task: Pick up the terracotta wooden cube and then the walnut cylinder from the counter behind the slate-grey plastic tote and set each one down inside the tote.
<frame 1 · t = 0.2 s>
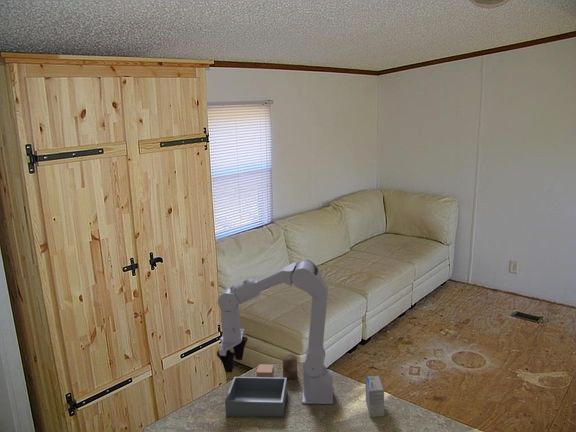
hand: (234, 365, 147), 10 cm above the countertop, fingers open, 7 cm apart
slate tote: (257, 403, 143), on the countertop
terracotta cube: (265, 381, 155), on the countertop
walnut cylinder: (290, 376, 157), on the countertop
medicine box: (374, 409, 138), on the countertop
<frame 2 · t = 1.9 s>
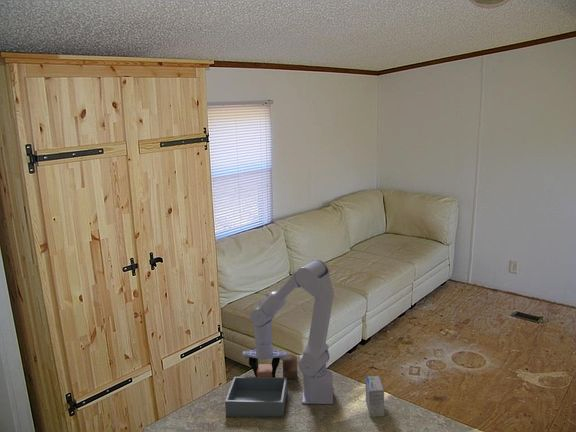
hand: (265, 377, 154), 1 cm above the countertop, fingers closed on terracotta cube, 5 cm apart
terracotta cube: (265, 381, 155), on the countertop, touching gripper
everything else where it was.
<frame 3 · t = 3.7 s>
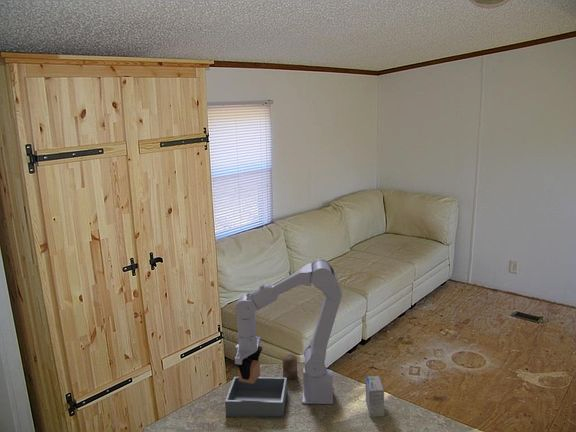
hand: (249, 374, 144), 8 cm above the countertop, fingers closed on terracotta cube, 5 cm apart
terracotta cube: (249, 378, 144), point 7 cm above the countertop, touching gripper
everything else where it was.
when the fingers open (4 cm above the countertop, at t = 5.4 s): terracotta cube drops 1 cm, resting on slate tote.
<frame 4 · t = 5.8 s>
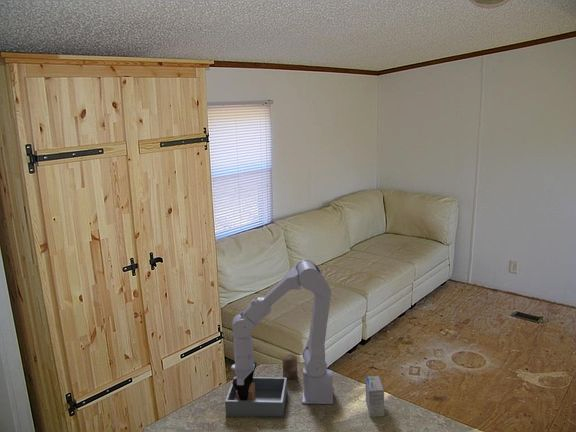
hand: (246, 393, 142), 4 cm above the countertop, fingers open, 7 cm apart
terracotta cube: (246, 401, 143), point 1 cm above the countertop, touching slate tote
everything else where it was.
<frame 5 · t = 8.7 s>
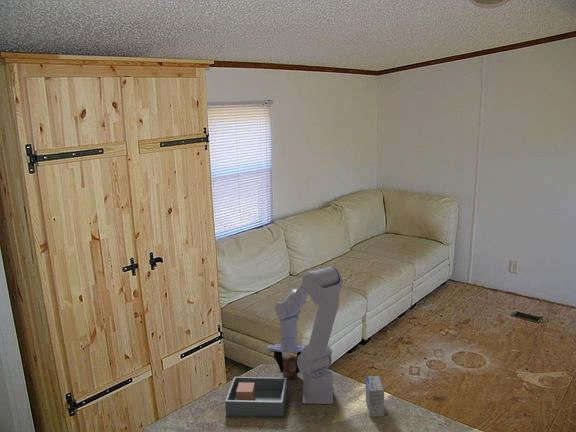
hand: (290, 371, 157), 2 cm above the countertop, fingers closed on walnut cylinder, 5 cm apart
walnut cylinder: (290, 376, 157), on the countertop, touching gripper
everything else where it was.
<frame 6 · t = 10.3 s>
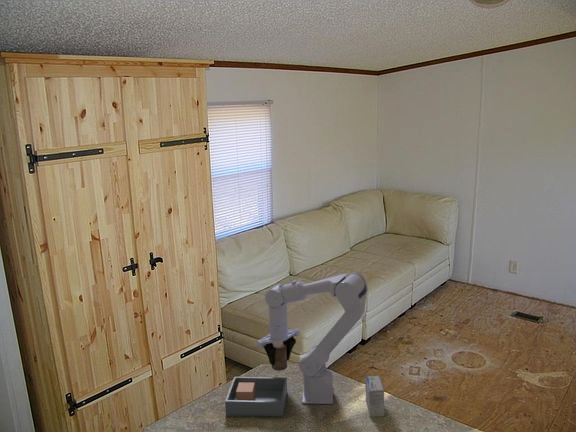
hand: (279, 361, 149), 9 cm above the countertop, fingers closed on walnut cylinder, 5 cm apart
walnut cylinder: (279, 366, 150), point 7 cm above the countertop, touching gripper
everything else where it was.
when the fingers open (4 cm above the countertop, at t = 12.4 s): walnut cylinder stays where it is, resting on slate tote.
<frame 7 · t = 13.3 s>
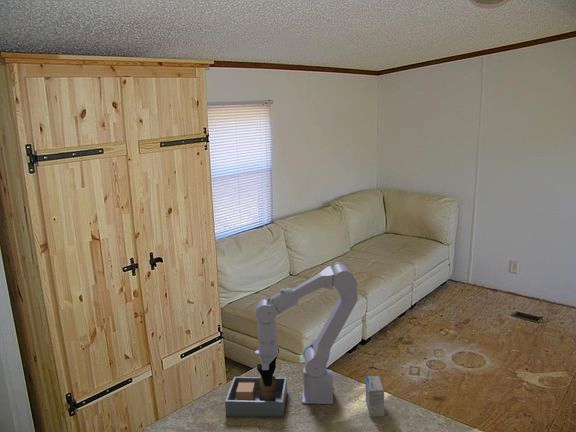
hand: (269, 378, 143), 7 cm above the countertop, fingers open, 7 cm apart
walnut cylinder: (267, 400, 142), point 1 cm above the countertop, tilted 10°, touching slate tote
everything else where it was.
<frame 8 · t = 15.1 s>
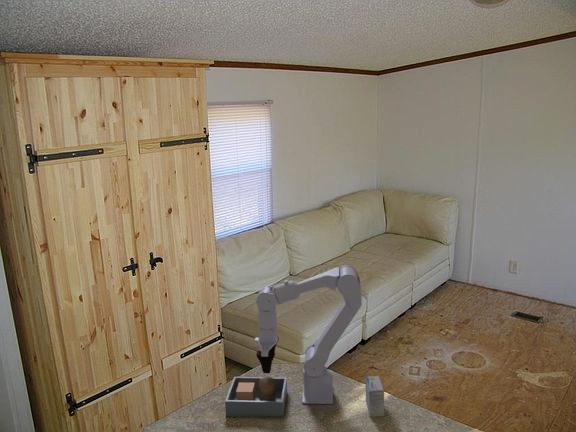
hand: (268, 366, 144), 10 cm above the countertop, fingers open, 7 cm apart
walnut cylinder: (267, 401, 142), point 1 cm above the countertop, touching slate tote
everything else where it was.
at the end: terracotta cube inside the target area on the slate tote (3.6 cm from its centre), point 0.6 cm above the slate tote's base; walnut cylinder inside the target area on the slate tote (3.2 cm from its centre), point 0.6 cm above the slate tote's base; walnut cylinder tilted 0° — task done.
